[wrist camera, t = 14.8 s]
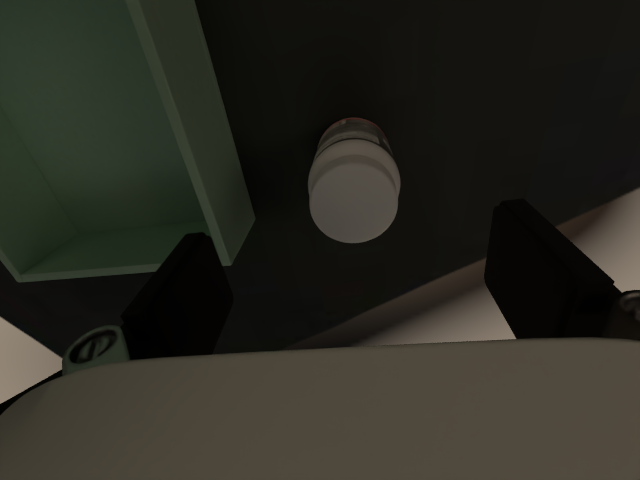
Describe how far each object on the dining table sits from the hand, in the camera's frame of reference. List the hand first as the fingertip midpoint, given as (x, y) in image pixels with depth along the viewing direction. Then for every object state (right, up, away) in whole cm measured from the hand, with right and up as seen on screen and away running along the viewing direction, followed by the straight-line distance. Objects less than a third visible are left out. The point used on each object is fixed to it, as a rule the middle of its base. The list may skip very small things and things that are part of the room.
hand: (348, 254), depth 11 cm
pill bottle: (+1, +6, +11) cm, 13 cm away
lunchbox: (-15, +8, +11) cm, 20 cm away
